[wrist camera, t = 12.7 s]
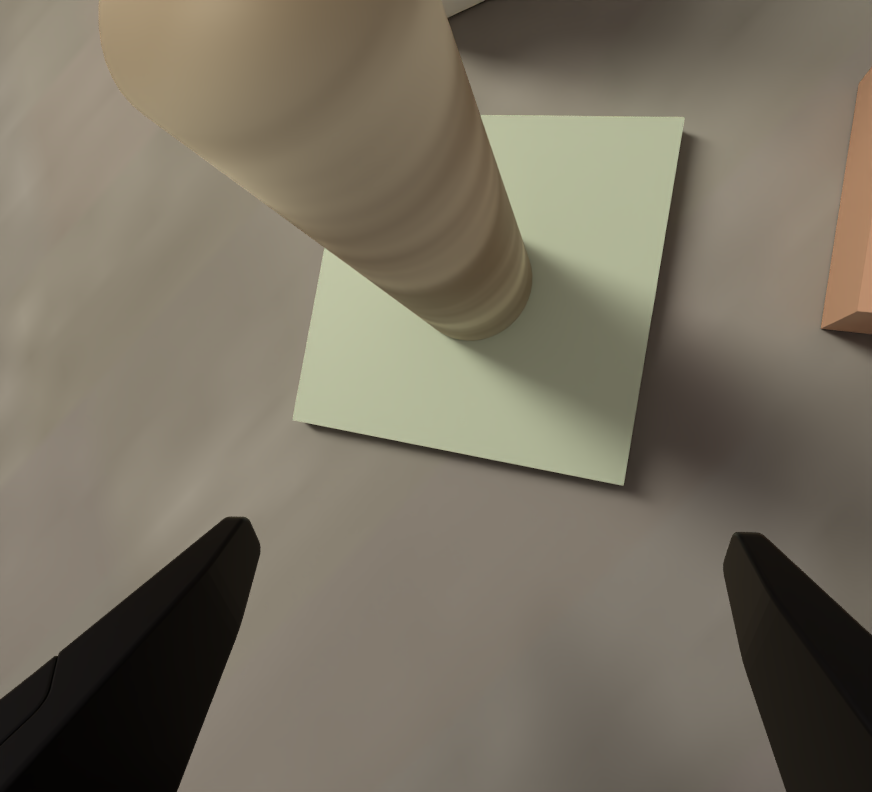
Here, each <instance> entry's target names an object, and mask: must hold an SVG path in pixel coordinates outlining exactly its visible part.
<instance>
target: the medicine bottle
mask: <svg viewBox="0 0 872 792" xmlns="http://www.w3.org/2000/svg"><path fill="white" fill-rule="evenodd" d="M441 1H442V4H443V7H444V10H445V13H446V16H447V18H448V17H450V16H453V15H455V14H457V13H459V12H461V11H463V10H466V9H468V8H470V7H472V6H474V5H476V4H478V3H481V2H483V1H485V0H441Z"/></svg>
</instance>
